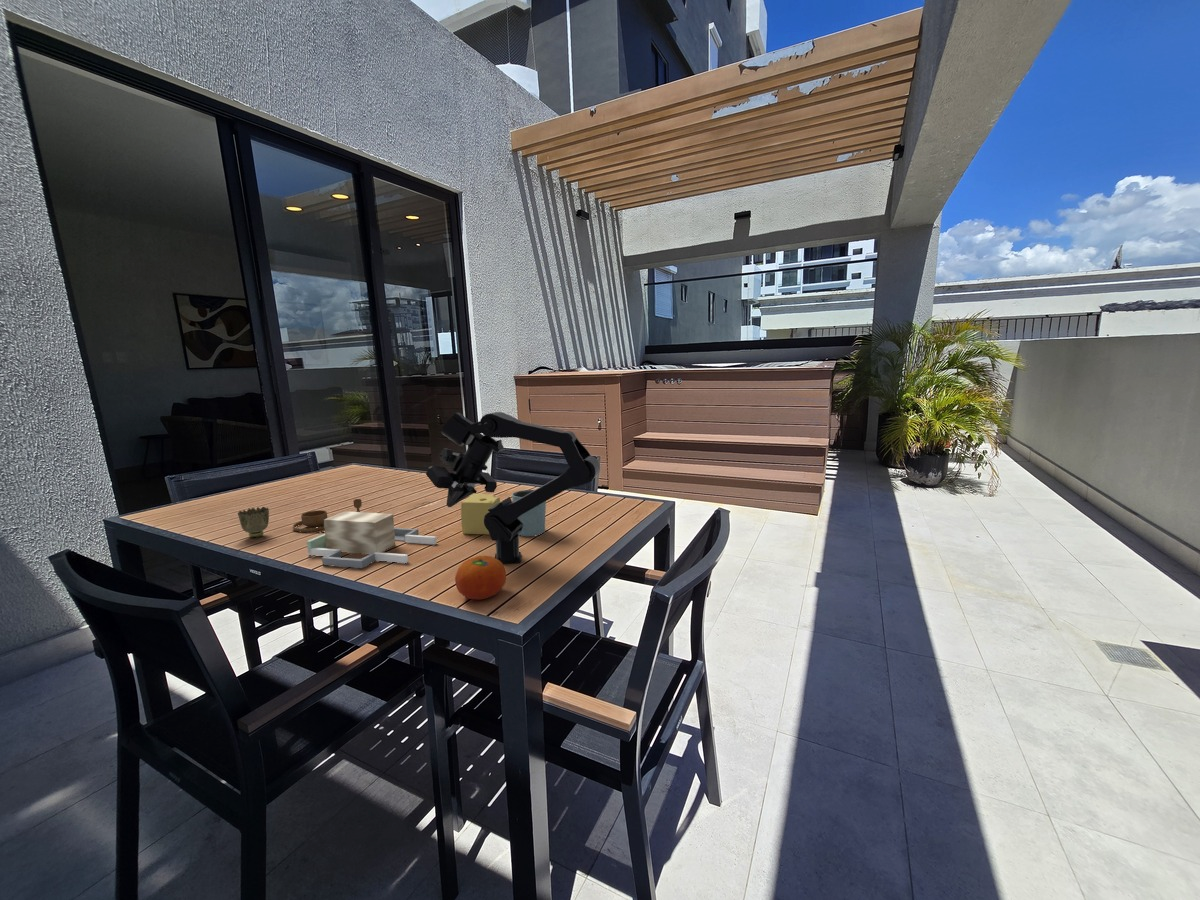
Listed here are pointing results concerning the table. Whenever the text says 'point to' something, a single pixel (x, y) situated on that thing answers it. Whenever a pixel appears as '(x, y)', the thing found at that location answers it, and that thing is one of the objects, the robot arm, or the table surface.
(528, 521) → the blue-gray cylindrical container
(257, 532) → the cup
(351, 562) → the low angular wall frame
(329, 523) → the birch block
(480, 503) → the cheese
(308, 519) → the place setting
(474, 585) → the fruit
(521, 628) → the table surface
